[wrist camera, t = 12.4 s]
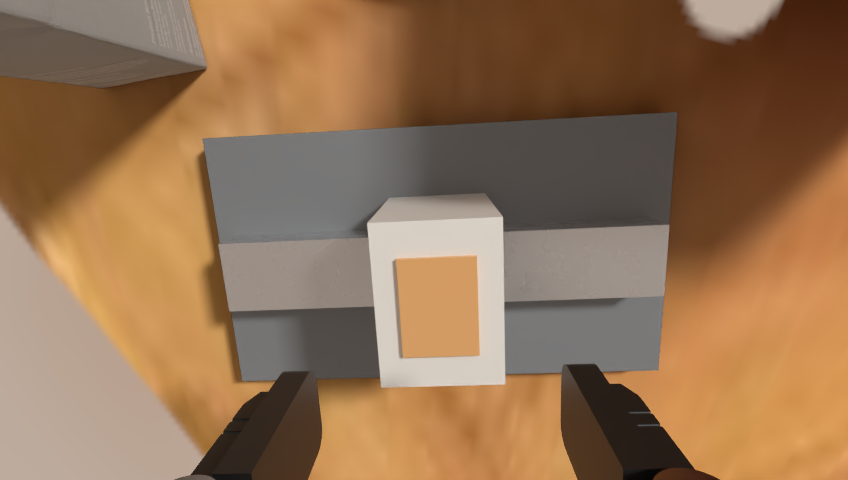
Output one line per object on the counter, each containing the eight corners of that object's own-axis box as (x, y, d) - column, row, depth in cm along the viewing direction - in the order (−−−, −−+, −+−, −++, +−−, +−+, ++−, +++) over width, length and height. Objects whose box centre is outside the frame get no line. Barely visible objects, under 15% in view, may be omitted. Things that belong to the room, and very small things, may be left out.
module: (389, 197, 23) (366, 224, 16) (484, 193, 23) (503, 218, 16) (398, 318, 25) (380, 390, 18) (487, 315, 24) (505, 387, 17)
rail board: (646, 357, 26) (658, 370, 25) (252, 368, 27) (242, 381, 26) (662, 113, 23) (677, 112, 21) (217, 138, 24) (202, 138, 23)
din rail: (645, 282, 23) (664, 296, 22) (246, 297, 25) (229, 311, 23) (650, 217, 23) (669, 224, 21) (236, 235, 24) (218, 244, 22)
